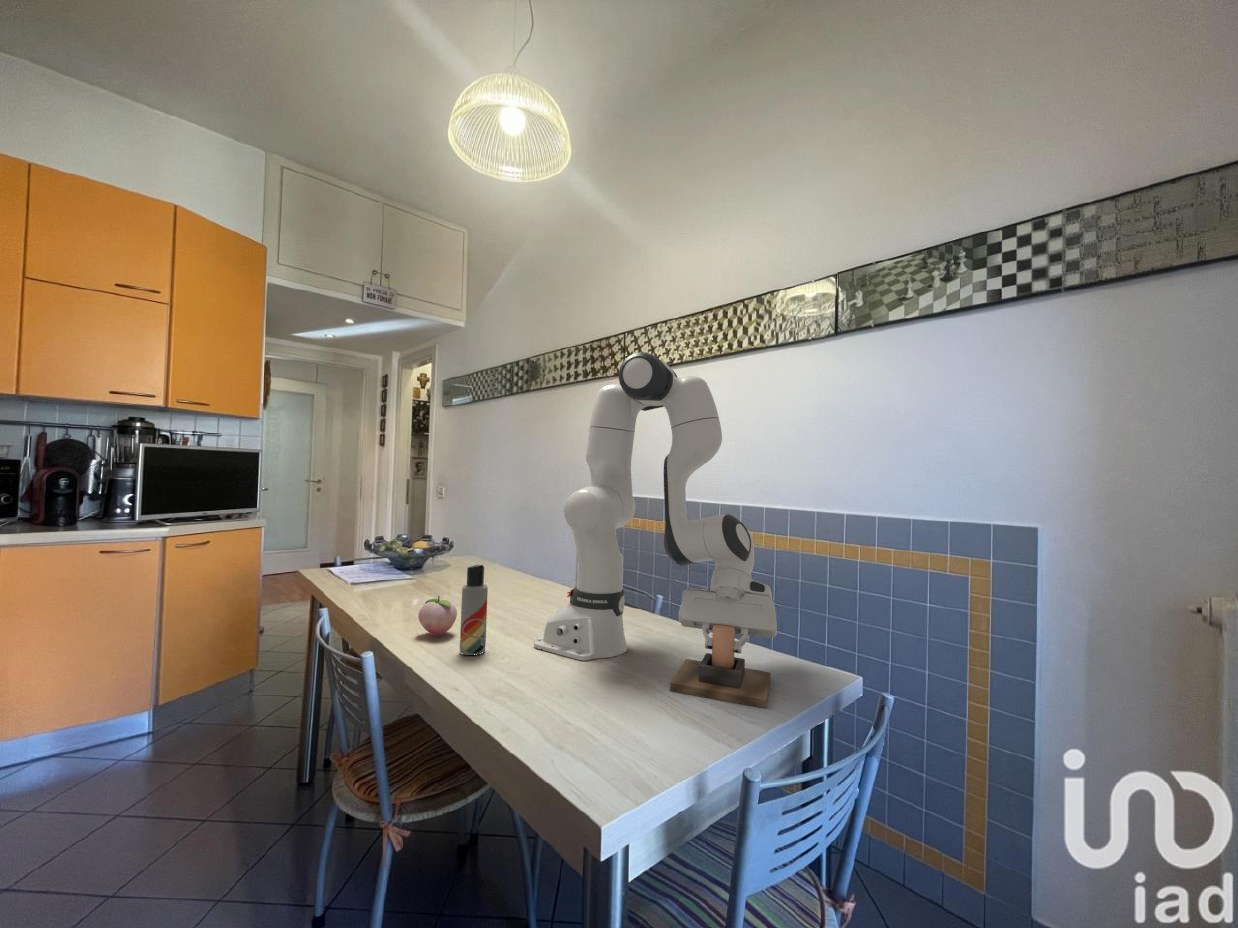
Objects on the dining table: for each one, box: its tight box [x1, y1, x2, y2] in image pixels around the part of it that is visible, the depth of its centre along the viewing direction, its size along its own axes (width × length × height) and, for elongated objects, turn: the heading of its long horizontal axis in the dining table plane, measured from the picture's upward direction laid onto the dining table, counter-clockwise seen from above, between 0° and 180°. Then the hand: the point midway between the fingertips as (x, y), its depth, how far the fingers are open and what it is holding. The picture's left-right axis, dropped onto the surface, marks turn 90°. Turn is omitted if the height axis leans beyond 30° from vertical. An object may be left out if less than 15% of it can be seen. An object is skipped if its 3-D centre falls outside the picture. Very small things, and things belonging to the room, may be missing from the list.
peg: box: [711, 624, 736, 669], centre depth 99 cm, size 4×4×10 cm
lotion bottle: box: [459, 564, 489, 656], centre depth 113 cm, size 6×6×20 cm
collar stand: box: [669, 652, 772, 709], centre depth 98 cm, size 18×14×4 cm
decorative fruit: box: [417, 595, 458, 636], centre depth 123 cm, size 9×8×10 cm
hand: (722, 649), depth 98 cm, fingers closed on peg, 4 cm apart
